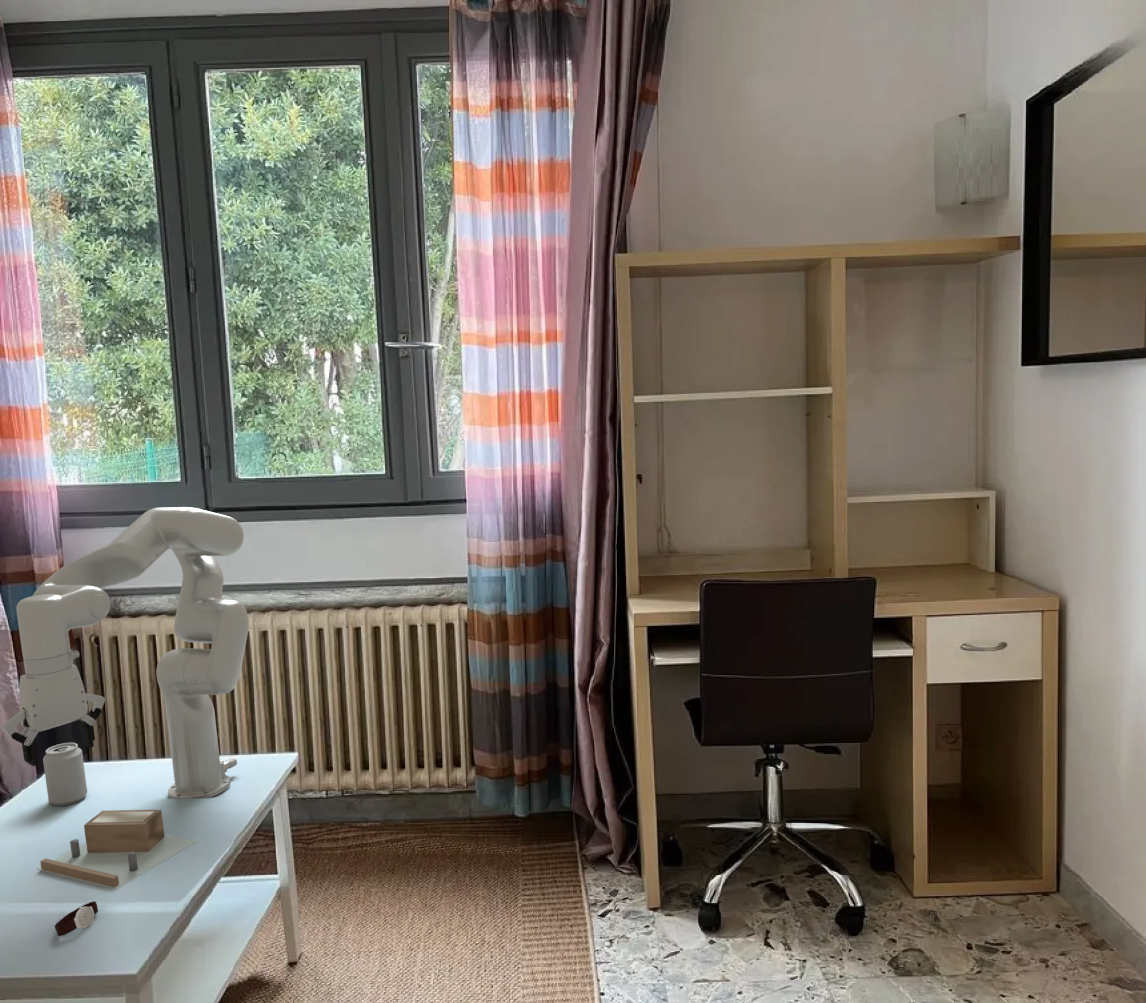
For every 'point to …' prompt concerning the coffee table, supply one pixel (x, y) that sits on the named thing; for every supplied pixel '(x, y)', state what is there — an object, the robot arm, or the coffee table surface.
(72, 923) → the watch
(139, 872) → the wall board
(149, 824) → the wooden box
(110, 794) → the coffee table surface
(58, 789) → the can
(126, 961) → the coffee table surface
